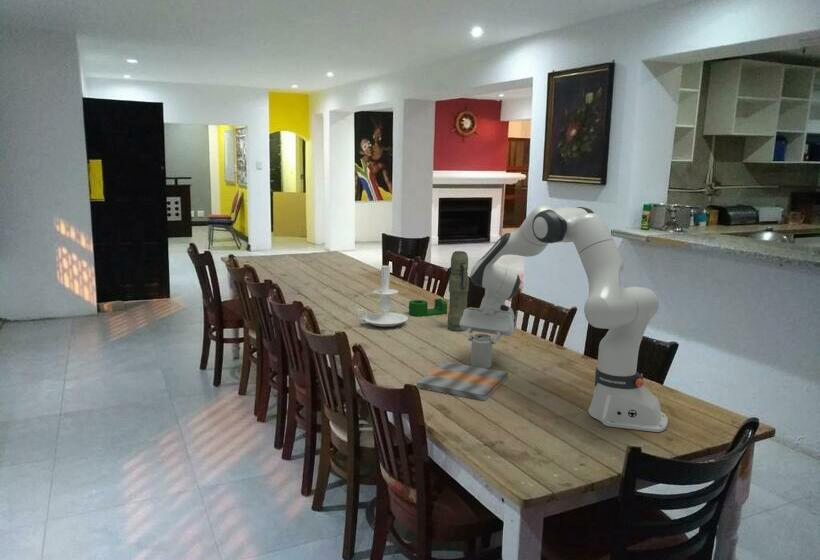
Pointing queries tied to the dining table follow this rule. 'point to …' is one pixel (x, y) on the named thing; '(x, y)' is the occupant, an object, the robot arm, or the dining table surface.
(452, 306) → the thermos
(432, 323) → the dining table surface
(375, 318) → the candlestick
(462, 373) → the grey orange flat square
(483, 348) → the can
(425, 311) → the slotted cylinder bracket
